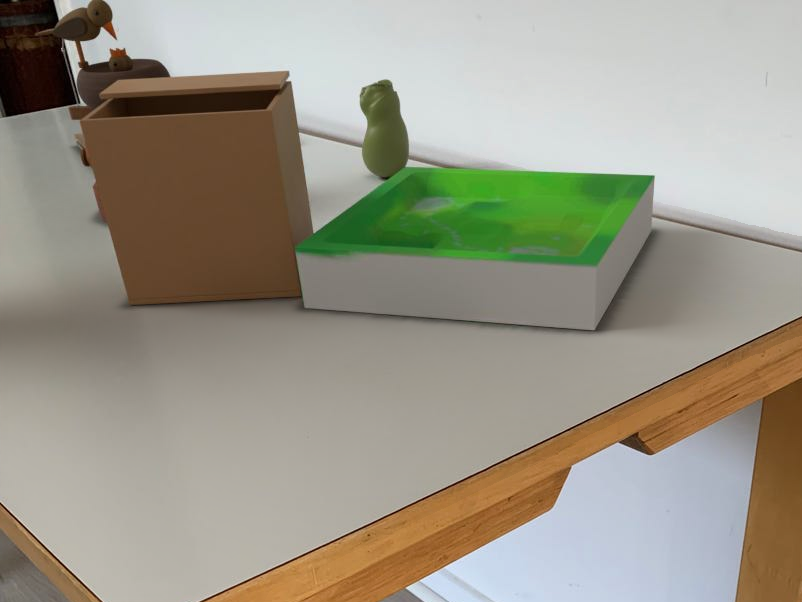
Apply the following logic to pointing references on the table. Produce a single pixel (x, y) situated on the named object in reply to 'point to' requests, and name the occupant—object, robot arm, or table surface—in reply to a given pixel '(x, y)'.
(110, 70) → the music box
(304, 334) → the table surface
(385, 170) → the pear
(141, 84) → the flap
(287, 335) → the table surface
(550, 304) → the green flat square box
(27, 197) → the table surface
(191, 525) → the table surface
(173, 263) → the carton
